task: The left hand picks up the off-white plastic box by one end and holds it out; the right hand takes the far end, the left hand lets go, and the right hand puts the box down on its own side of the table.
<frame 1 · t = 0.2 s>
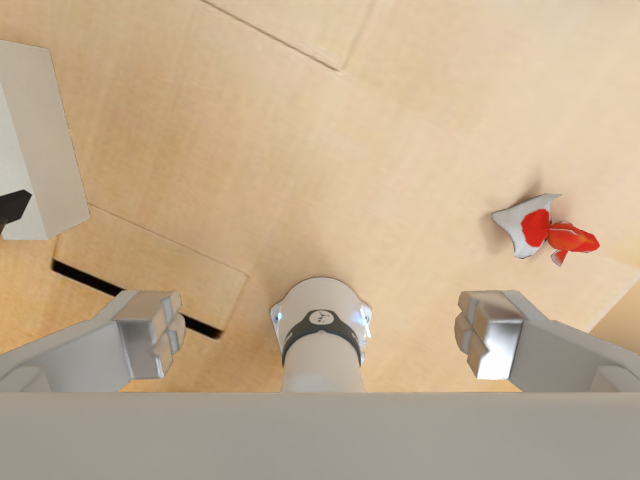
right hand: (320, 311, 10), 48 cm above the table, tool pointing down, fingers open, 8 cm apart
box: (51, 140, 55), on the table
fish: (528, 224, 60), on the table
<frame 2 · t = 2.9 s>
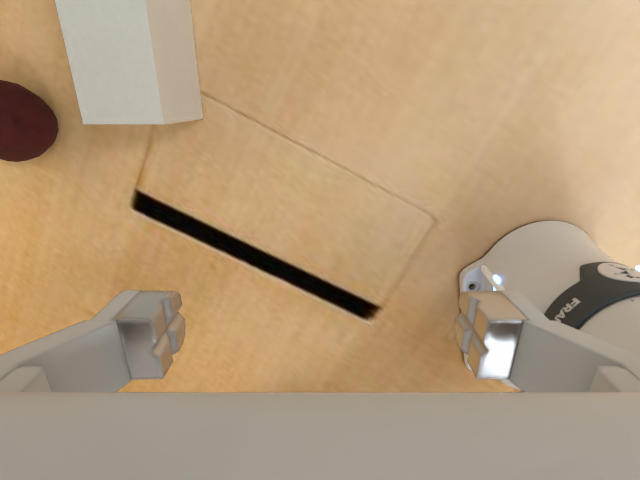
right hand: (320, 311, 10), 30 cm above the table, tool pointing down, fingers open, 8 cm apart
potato: (37, 120, 37), on the table
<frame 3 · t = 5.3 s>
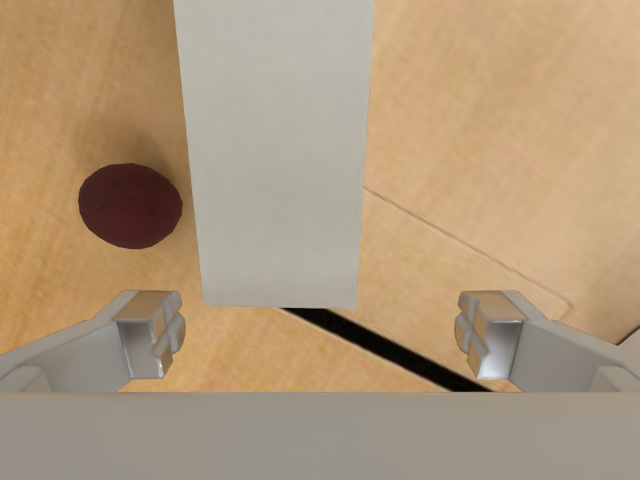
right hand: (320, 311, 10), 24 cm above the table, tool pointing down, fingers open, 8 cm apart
box: (295, 19, 20), point 10 cm above the table, touching left hand
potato: (152, 197, 34), on the table
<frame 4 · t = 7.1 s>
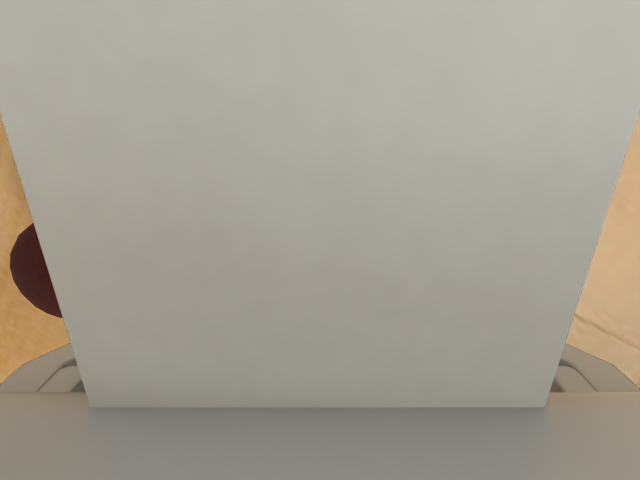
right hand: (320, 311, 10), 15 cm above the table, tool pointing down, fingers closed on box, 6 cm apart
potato: (123, 242, 26), on the table
when the left hand's fingers open (11 cm above the table, at t = 8.0 s): box stays where it is, held by the right hand.
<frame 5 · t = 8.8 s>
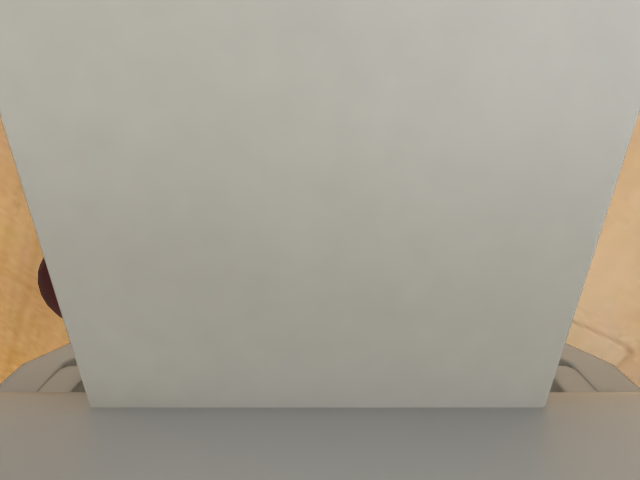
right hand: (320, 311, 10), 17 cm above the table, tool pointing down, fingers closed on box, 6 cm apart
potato: (134, 257, 28), on the table
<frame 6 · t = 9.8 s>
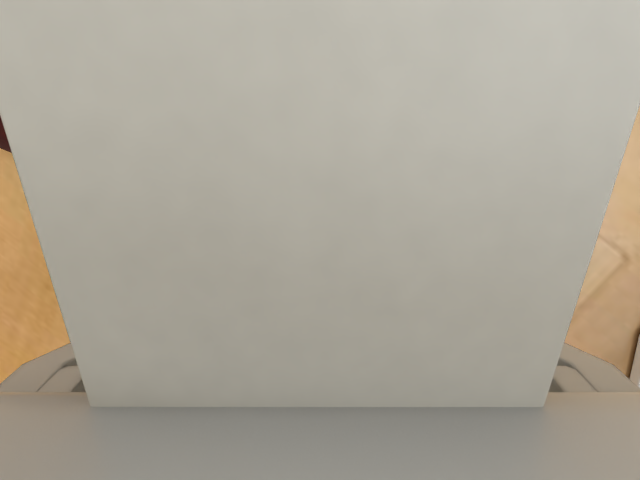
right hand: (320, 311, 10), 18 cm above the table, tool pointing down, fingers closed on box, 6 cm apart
when the right hand's fingers open (6 cm above the table, at t = 12.9 s): box drops 1 cm, on the table.
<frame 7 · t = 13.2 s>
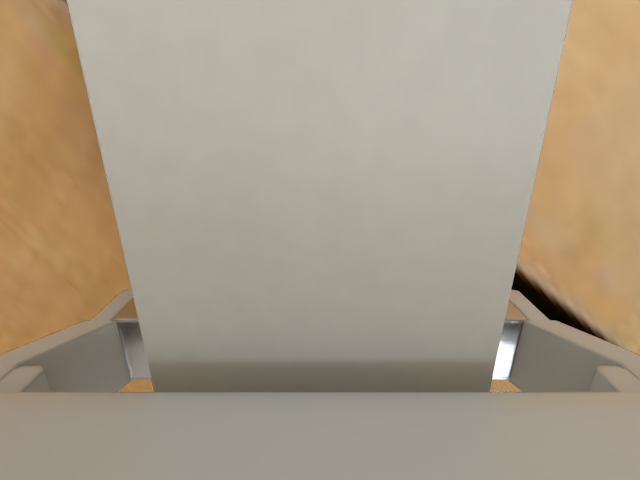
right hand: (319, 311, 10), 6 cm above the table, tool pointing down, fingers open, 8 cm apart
box: (319, 21, 13), on the table
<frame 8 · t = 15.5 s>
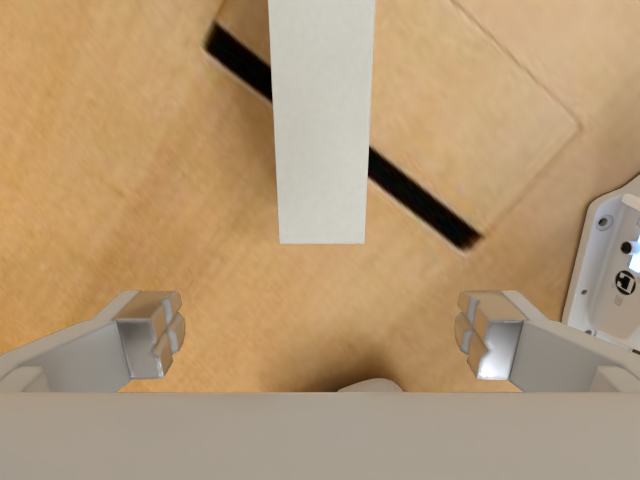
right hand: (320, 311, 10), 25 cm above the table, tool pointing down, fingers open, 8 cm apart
box: (321, 67, 31), on the table
white rounded block: (368, 435, 47), on the table
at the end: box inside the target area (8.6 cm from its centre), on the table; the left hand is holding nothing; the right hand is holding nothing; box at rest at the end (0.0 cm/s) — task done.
